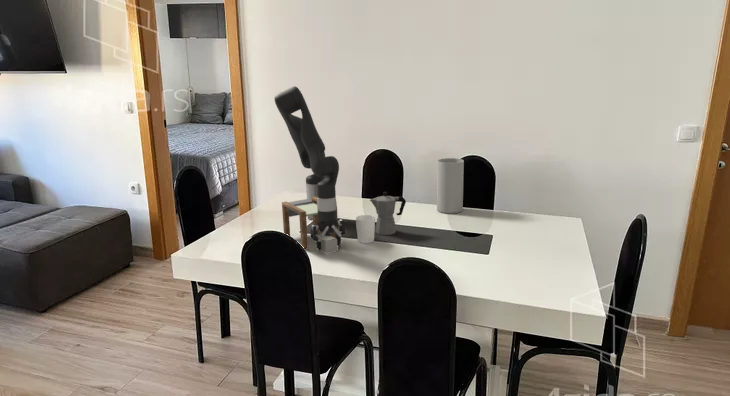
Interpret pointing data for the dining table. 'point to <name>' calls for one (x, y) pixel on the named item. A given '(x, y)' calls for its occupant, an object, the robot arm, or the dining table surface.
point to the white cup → (365, 228)
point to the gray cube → (329, 244)
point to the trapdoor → (304, 207)
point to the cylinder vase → (450, 185)
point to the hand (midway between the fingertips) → (328, 247)
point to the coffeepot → (386, 213)
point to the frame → (302, 221)
